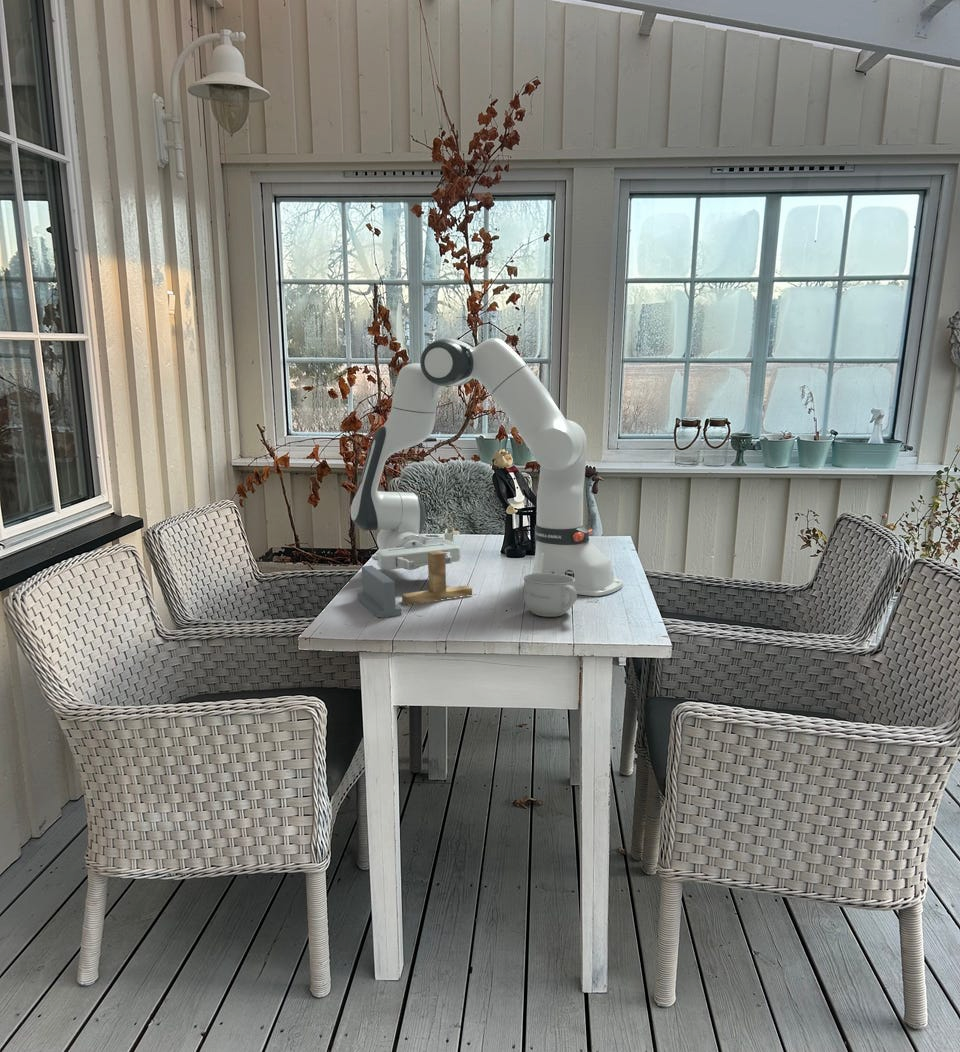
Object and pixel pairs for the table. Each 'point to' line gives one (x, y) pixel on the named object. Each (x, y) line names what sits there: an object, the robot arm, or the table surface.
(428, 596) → the wooden t-shaped post
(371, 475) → the robot arm
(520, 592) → the table surface
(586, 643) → the table surface
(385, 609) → the ridge
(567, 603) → the teacup
